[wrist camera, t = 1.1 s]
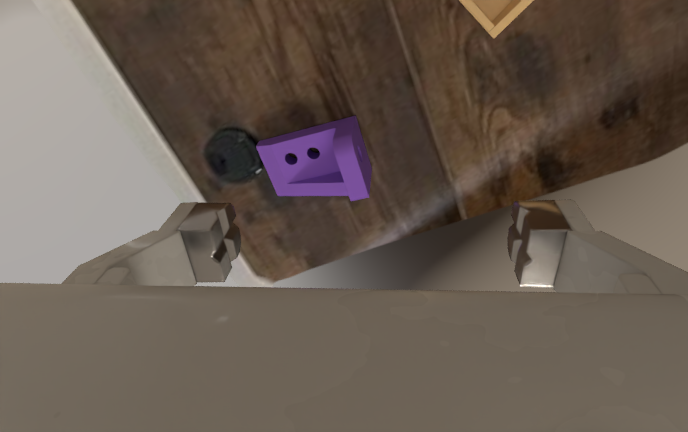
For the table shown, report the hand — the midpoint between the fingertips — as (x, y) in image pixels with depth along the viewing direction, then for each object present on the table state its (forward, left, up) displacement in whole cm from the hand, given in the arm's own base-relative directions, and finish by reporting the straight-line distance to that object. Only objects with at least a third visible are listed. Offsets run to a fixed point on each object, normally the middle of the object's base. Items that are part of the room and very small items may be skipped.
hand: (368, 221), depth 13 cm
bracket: (+4, -16, -37) cm, 41 cm away
